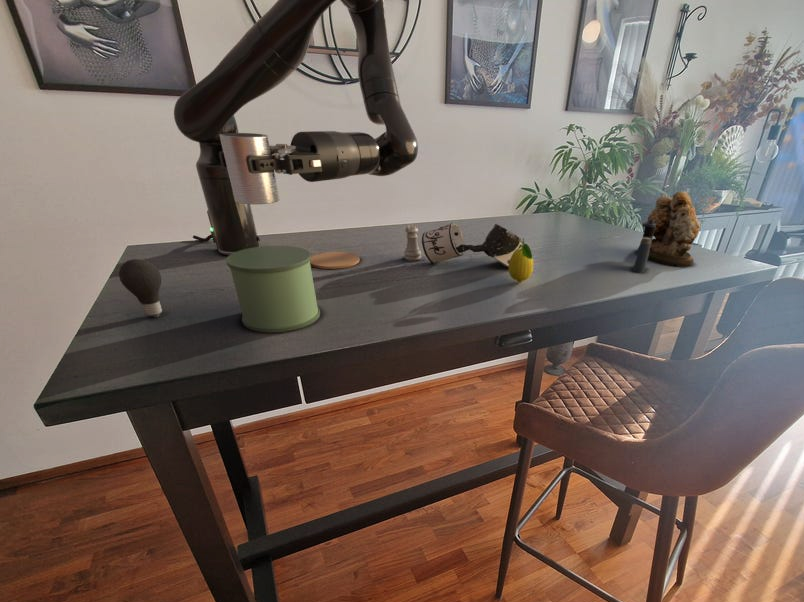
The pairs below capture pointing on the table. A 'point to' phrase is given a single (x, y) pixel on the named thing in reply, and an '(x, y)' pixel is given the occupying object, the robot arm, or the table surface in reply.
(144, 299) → the light bulb
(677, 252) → the owl figurine
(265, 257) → the green round canister
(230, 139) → the silver cup
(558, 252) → the table surface
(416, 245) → the rook chess piece
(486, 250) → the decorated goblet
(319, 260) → the cork mat
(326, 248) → the table surface
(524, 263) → the lemon
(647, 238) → the vaping device
